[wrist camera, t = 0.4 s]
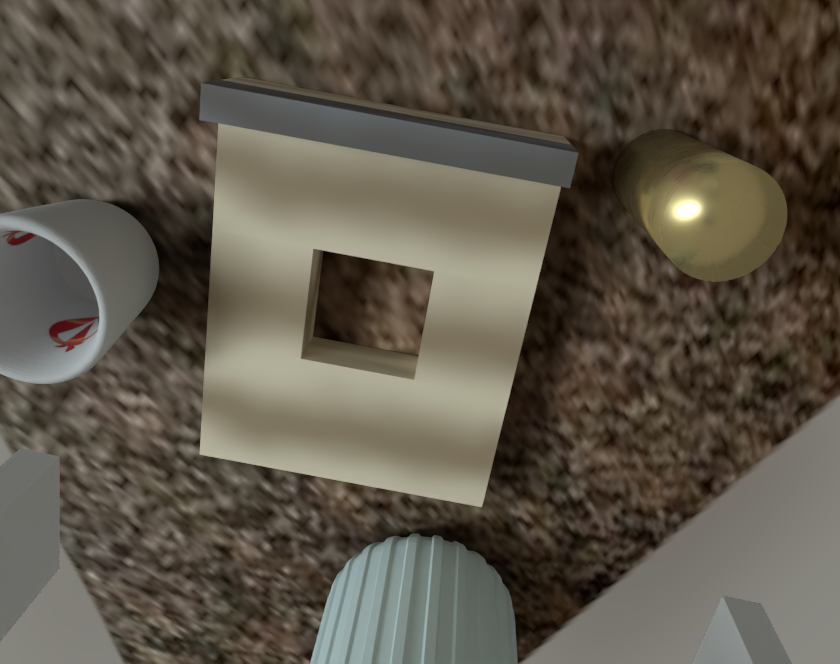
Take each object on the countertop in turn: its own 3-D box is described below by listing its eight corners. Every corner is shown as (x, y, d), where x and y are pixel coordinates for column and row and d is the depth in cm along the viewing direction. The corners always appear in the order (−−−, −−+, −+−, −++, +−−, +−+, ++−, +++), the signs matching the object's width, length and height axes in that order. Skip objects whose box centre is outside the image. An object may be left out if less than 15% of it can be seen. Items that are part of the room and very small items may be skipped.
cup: (25, 341, 41) (-73, 407, 34) (-35, 207, 38) (-156, 247, 31) (198, 310, 40) (135, 371, 32) (149, 168, 37) (68, 200, 29)
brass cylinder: (627, 121, 34) (682, 151, 25) (717, 138, 34) (806, 174, 25) (602, 210, 36) (646, 269, 27) (688, 226, 36) (761, 291, 27)
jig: (241, 76, 35) (201, 83, 30) (564, 136, 35) (578, 152, 30) (217, 427, 42) (182, 479, 37) (481, 476, 42) (482, 536, 37)
